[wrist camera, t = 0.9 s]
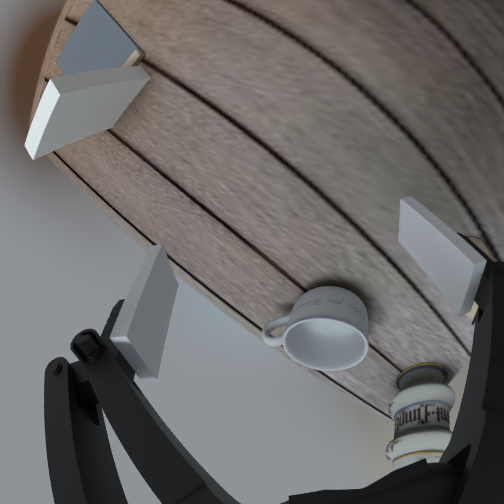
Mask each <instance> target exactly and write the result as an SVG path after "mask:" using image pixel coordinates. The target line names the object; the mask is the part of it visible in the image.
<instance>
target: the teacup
mask: <svg viewBox="0 0 504 504" xmlns="http://www.w3.org/2000/svg"><path fill="white" fill-rule="evenodd" d="M284 325H287V328H286V329H285V331H284V332H283V333H282V334H281V335H279V336H277V337H270V333H271V332H272V331H273V330H275V329H276V328H278V327H281V326H284ZM262 338H263V340H264V342H265V343H266V344H267V345H269V346H280V345H283V347H284V349H285V351H286V352H287V354H288V355H289V356H290V357H291V358H292V359H293V360H295V361H296V362H298V363H300V364H302V365H304V366H306V367H309V368H312V369H317V370H322V371H338V370H344V369H348V368H351V367H353V366H355V365H357V364H358V363H360V362H361V361H362V360H363V359H364V357H365V356H366V354H367V352H368V348H369V345H368V314H367V310H366V307H365V305H364V303H363V302H362V301H361V299H360V298H359V297H358V296H357V295H355V294H354V293H352V292H351V291H349V290H346V289H344V288H340V287H335V286H322V287H317V288H314V289H311V290H309V291H307V292H306V293H304V294H303V295H302V296H301V297H300V298H299V299H298V300H297V301H296V303H295V305H294V307H293V309H292V312H291V313H289V314H288V315H286V316H283V317H280V318H277V319H274V320H272V321H270V322H269V323H267V324H266V325H265V326H264V328H263V330H262Z"/></svg>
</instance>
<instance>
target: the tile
mask: <svg viewBox="0 0 504 504" xmlns="http://www.w3.org/2000/svg"><path fill="white" fill-rule="evenodd" d="M150 79H151V77H150V76H149V75H148V74H147V72H146V71H145V70H144V69H143V68H142V66H130V67H120V68H111V69H103V70H95V71H89V72H82V73H77V74H71V75H66V76H61V77H56V78H52V79H50V80H49V83H48V85H47V87H46V89H45V92H44V94H43V96H42V99H41V101H40V103H39V106H38V108H37V111H36V114H35V116H34V119H33V122H32V124H31V127H30V130H29V133H28V136H27V139H26V142H25V147H26V149H27V150H28V152H29V154H30V156H31V157H32V159H33V160H35V159H37V158H39V157H41V156H43V155H45V154H47V153H50V152H52V151H54V150H56V149H58V148H61V147H63V146H65V145H68V144H70V143H73V142H75V141H77V140H80V139H83V138H85V137H88V136H90V135H93V134H96V133H98V132H101V131H104V130H107V129H110V128H112V127H113V126H114V125H115V123H116V122H117V120H118V119H119V118H120V116H121V115H122V114H123V112H124V111H125V110H126V108H127V107H128V106H129V104H130V103H131V102H132V101H133V99H134V98H135V97H136V96H137V94H138V93H139V92H140V91H141V89H142V88H143V87H144V86H145V85H146V83H147V82H148V81H149V80H150Z"/></svg>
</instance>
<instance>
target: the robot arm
mask: <svg viewBox="0 0 504 504" xmlns="http://www.w3.org/2000/svg"><path fill="white" fill-rule="evenodd" d="M398 242H399V243H400V244H401V245H402V246H403V247H404V249H405V250H406V251H407V252H408V253H409V254H410V255H411V257H412V258H413V259H414V260H415V261H416V263H417V264H418V265H419V266H420V267H421V269H422V270H423V271H424V272H425V273H426V275H427V276H428V277H429V278H430V280H431V281H432V282H433V283H434V285H435V286H436V287H437V288H438V290H439V291H440V292H441V294H442V295H443V296H444V297H445V299H446V300H447V301H448V303H449V304H450V305H451V307H452V308H453V309H454V311H455V312H456V314H457V315H458V316H461V315H463V314H466V313H468V312H470V311H471V309H472V306H473V303H474V301H475V302H476V304H477V305H478V309H477V311H476V314H475V316H474V319H473V321H472V324H471V325H474V322H475V330H474V338H473V345H472V352H471V359H470V364H469V370H468V375H467V381H466V385H465V390H464V394H463V398H462V402H461V406H460V409H459V413H458V417H457V420H456V424H455V427H454V430H453V433H452V436H451V439H450V442H449V444H448V446H447V448H446V449H445V451H444V452H443V454H442V456H441V458H440V460H439V462H432V463H427V460H426V458H424V459H421V460H419V461H417V462H414V463H412V464H409V465H407V466H404V467H401V468H399V469H396V470H394V471H393V472H391V473H389V474H388V475H386V476H384V477H383V478H381V479H379V480H378V481H376V482H374V483H372V484H371V485H369V486H367V487H365V488H362V489H348V490H321V491H316V492H310V493H304V494H299V495H291V496H289V500H288V501H286V502H283V503H281V504H504V262H502V261H497V262H494V261H493V260H492V259H491V258H490V257H489V256H488V255H487V254H485V253H484V252H483V251H482V250H481V249H480V248H478V246H477V245H476V244H475V243H474V244H473V242H472V241H471V240H470V239H469V238H468V237H466V236H464V235H462V234H460V233H456V232H455V231H454V230H453V229H451V228H450V227H449V226H448V225H447V224H445V223H444V222H443V221H442V220H441V219H439V218H438V217H437V216H436V215H434V214H433V213H432V212H431V211H429V210H428V209H427V208H426V207H424V206H423V205H422V204H421V203H419V202H418V201H417V200H415V199H414V198H413V197H406V198H400V220H399V237H398ZM177 288H178V282H177V280H176V278H175V275H174V273H173V270H172V268H171V265H170V263H169V260H168V258H167V255H166V253H165V250H164V248H163V245H162V244H159V245H155V246H150V247H149V248H148V250H147V253H146V255H145V257H144V259H143V261H142V263H141V266H140V267H139V270H138V272H137V274H136V276H135V278H134V280H133V283H132V285H131V287H130V289H129V292H128V294H127V296H126V299H123V300H119V302H118V303H117V304H116V305H115V306H114V307H113V309H112V311H111V313H110V317H109V318H108V320H107V324H106V325H105V327H104V330H103V332H102V334H101V337H100V336H99V335H98V333H97V332H96V331H95V330H94V329H85V330H83V331H81V332H80V333H78V334H77V335H76V336H75V337H74V339H73V340H72V342H71V350H72V352H73V353H74V354H75V355H76V356H77V358H78V359H79V360H80V361H77V362H74V363H71V364H70V363H68V361H67V360H66V359H65V358H63V357H58V358H55V359H54V360H52V361H51V362H50V363H49V364H48V366H47V368H46V370H45V380H44V417H45V418H44V419H45V438H46V450H47V459H48V467H49V475H50V481H51V487H52V492H53V498H54V502H55V504H128V502H127V499H126V497H125V494H124V491H123V488H122V485H121V482H120V479H119V476H118V473H117V469H116V466H115V462H114V459H113V455H112V452H111V448H110V444H109V440H108V435H107V431H106V427H105V422H104V417H103V412H102V409H103V411H104V413H105V415H106V417H107V419H108V420H109V422H110V424H111V426H112V428H113V430H114V431H115V433H116V435H117V437H118V438H119V440H120V442H121V444H122V445H123V447H124V449H125V450H126V452H127V454H128V455H129V457H130V458H131V460H132V462H133V463H134V465H135V466H136V468H137V469H138V471H139V472H140V474H141V475H142V477H143V478H144V479H145V481H146V483H147V484H148V485H149V487H150V488H151V489H152V491H153V492H154V494H155V495H156V496H157V498H158V499H159V500H160V501H161V503H162V504H240V503H239V502H238V501H236V500H235V499H234V498H233V497H232V496H230V495H229V494H228V493H227V492H226V491H225V490H224V489H223V488H222V487H221V486H220V485H219V484H218V483H217V482H216V481H215V480H214V479H213V478H212V477H211V476H210V475H209V474H208V473H207V472H206V471H205V470H204V468H203V467H202V466H201V465H200V464H199V463H198V462H197V461H196V460H195V459H194V458H193V456H192V455H191V454H190V453H189V452H188V451H187V450H186V449H185V447H184V446H183V445H182V444H181V443H180V441H179V440H178V439H177V438H176V437H175V435H174V434H173V433H172V432H171V430H170V429H169V428H168V427H167V426H166V424H165V423H164V422H163V420H162V419H161V418H160V416H159V415H158V414H157V412H156V411H155V410H154V408H153V407H152V406H151V404H150V403H149V401H148V400H147V399H146V397H145V396H144V394H143V393H142V391H141V390H140V389H139V387H138V386H137V384H136V383H135V382H134V381H133V379H134V375H135V373H136V374H137V376H138V377H139V378H140V379H141V380H142V381H145V380H157V378H158V372H159V368H160V363H161V358H162V353H163V348H164V344H165V339H166V335H167V330H168V326H169V321H170V317H171V313H172V308H173V304H174V300H175V296H176V292H177Z"/></svg>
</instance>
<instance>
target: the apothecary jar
mask: <svg viewBox="0 0 504 504" xmlns="http://www.w3.org/2000/svg"><path fill="white" fill-rule="evenodd" d="M446 379H447V372H446V371H444V367H443V366H442V365H439V364H436V363H422V364H417V365H414V366H411V367H409V368H407V369H406V370H404V371H403V372H402V373H401V374H400V375H399V376H398V377H397V381H396V384H397V387H398V388H399V389H400V390H401V391H399V392H398V393H397V394H396V395H395V396H394V397H393V398H392V400H391V401H390V404H389V414H390V416H391V418H392V419H393V420H394V421H395V433H394V434H395V435H394V439H393V440H392V441H391V442H390V443H389V444H388V445H387V447H386V451H385V455H386V457H387V459H388V460H389V461H390V462H391V463H393V471H394V470H396V469H399V468H401V467H404V466H407V465H409V464H412V463H414V462H417V461H419V460H421V459H424V458H426V460H427V463H432V462H439V460H440V458H441V456H442V454H443V452H444V451H445V449H446V448H447V446H448V444H449V442H450V439H451V436H452V433H453V432H451V431H450V427H449V412H450V410H451V409H452V407H453V405H454V403H455V393H454V391H453V390H452V388H451V387H450V386H448V385H446V384H444V382H445V381H446Z"/></svg>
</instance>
